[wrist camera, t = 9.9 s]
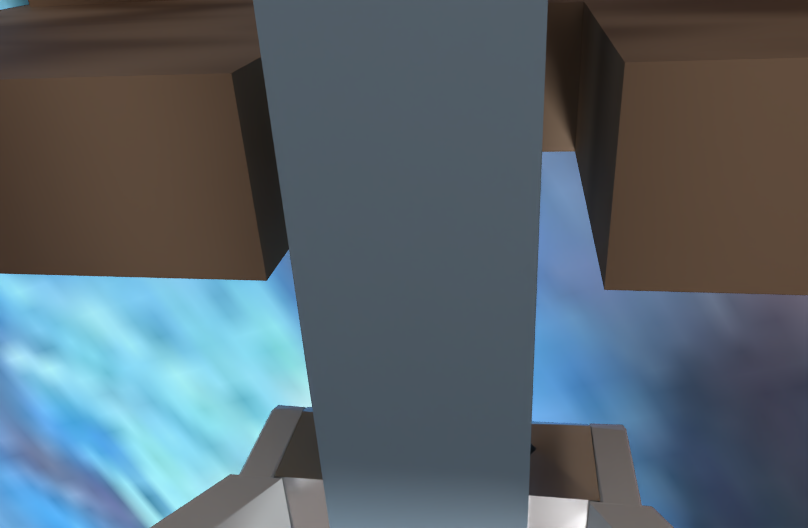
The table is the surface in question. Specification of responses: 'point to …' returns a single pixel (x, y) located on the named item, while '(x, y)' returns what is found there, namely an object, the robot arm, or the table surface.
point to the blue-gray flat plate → (413, 246)
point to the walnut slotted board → (257, 168)
